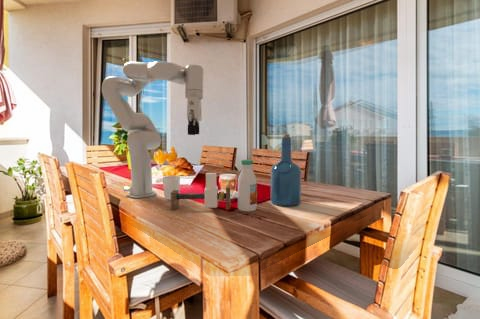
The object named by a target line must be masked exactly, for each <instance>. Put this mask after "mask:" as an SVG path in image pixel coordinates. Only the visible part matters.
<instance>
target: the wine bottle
mask: <svg viewBox="0 0 480 319" xmlns="http://www.w3.org/2000/svg"><path fill="white" fill-rule="evenodd" d="M280 145H281V153H280V154H281V156H280V157H281V158H280V161H278V162H276V163H275V164H273V165H272V167H271V169H270V202H271V203H272V204H274V205H276V206H280V207H293V206H297V205H299V204H301V203H302V178H303V177H302V171H303V170H302V169H301V167H300V165H298V164H297V163H295V162H293V160H292V137H291V136H290V133H284V134H283V136H282V138H281V144H280Z"/></svg>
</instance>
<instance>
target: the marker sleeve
mask: <svg viewBox="0 0 480 319" xmlns="http://www.w3.org/2000/svg"><path fill="white" fill-rule="evenodd" d="M203 193H204V196H205V199H204V208H205V209H206V208H212V209H213V208H215V209H216V208H218V205H219V199H217V193H219V186H217V172H206V173H205V188H204V192H203Z"/></svg>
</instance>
